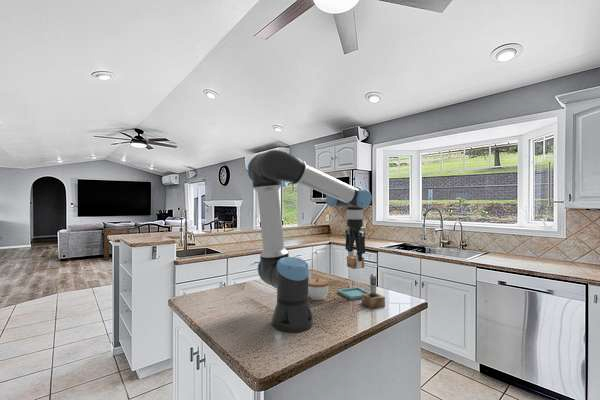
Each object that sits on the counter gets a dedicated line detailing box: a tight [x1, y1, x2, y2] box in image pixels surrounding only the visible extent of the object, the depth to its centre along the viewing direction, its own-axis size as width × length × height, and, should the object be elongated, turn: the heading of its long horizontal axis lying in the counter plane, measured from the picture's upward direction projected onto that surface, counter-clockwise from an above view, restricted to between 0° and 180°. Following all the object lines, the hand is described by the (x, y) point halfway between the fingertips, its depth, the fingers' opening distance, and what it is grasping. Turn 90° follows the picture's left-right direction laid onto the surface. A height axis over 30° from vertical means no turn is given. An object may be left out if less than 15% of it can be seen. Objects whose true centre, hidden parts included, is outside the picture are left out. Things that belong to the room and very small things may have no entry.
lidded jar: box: [308, 277, 330, 301], centre depth 135 cm, size 11×11×9 cm
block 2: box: [361, 292, 386, 309], centre depth 127 cm, size 7×7×4 cm
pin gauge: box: [369, 273, 377, 297], centre depth 127 cm, size 3×3×13 cm
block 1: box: [346, 254, 365, 270], centre depth 141 cm, size 6×6×5 cm
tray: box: [337, 286, 370, 301], centre depth 140 cm, size 12×12×2 cm
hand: (354, 266), depth 141 cm, fingers closed on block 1, 6 cm apart
